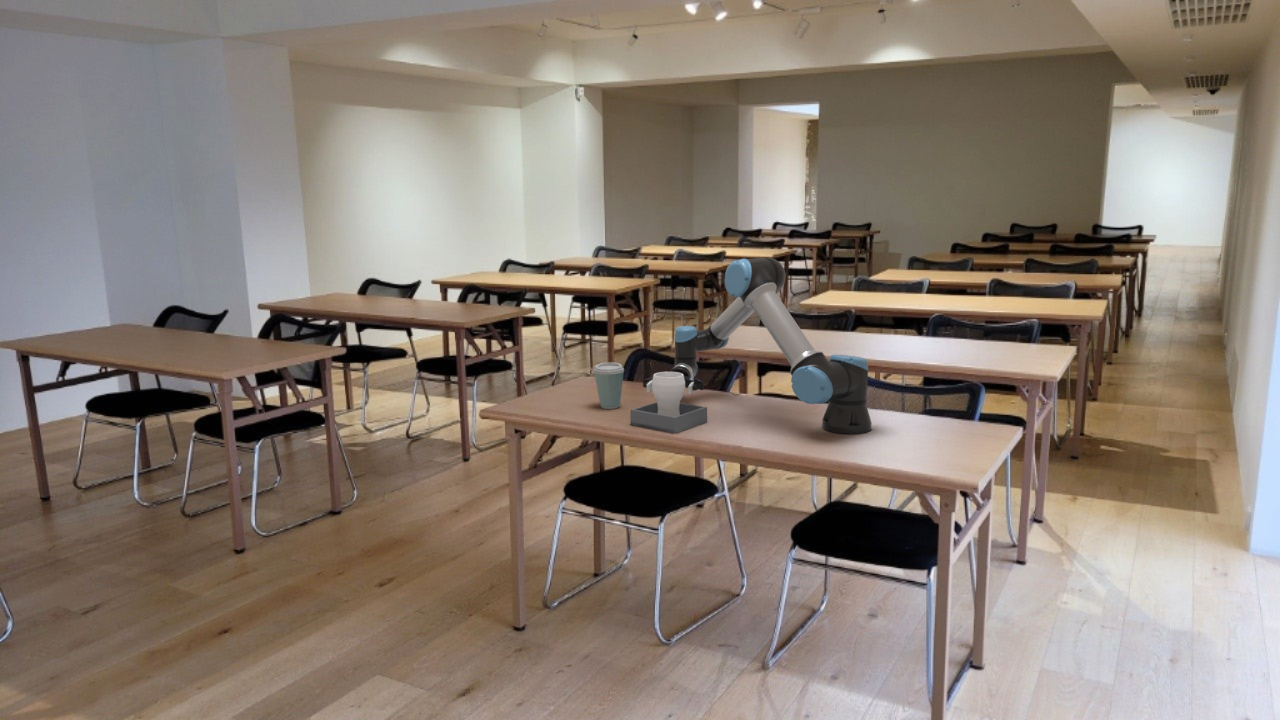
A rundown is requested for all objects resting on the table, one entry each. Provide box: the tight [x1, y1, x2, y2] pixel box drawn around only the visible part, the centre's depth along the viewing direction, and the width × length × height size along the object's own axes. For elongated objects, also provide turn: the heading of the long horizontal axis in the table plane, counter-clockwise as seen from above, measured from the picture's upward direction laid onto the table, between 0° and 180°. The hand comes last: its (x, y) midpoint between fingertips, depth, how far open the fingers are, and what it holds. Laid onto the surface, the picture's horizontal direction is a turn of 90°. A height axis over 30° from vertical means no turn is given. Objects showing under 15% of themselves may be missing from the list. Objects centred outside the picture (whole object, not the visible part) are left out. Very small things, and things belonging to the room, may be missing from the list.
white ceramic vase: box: [651, 371, 686, 417], centre depth 294 cm, size 11×11×15 cm
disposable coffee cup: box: [593, 361, 625, 410], centre depth 316 cm, size 11×11×15 cm
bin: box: [630, 401, 708, 435], centre depth 295 cm, size 18×18×5 cm
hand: (668, 389), depth 294 cm, fingers open, 13 cm apart
